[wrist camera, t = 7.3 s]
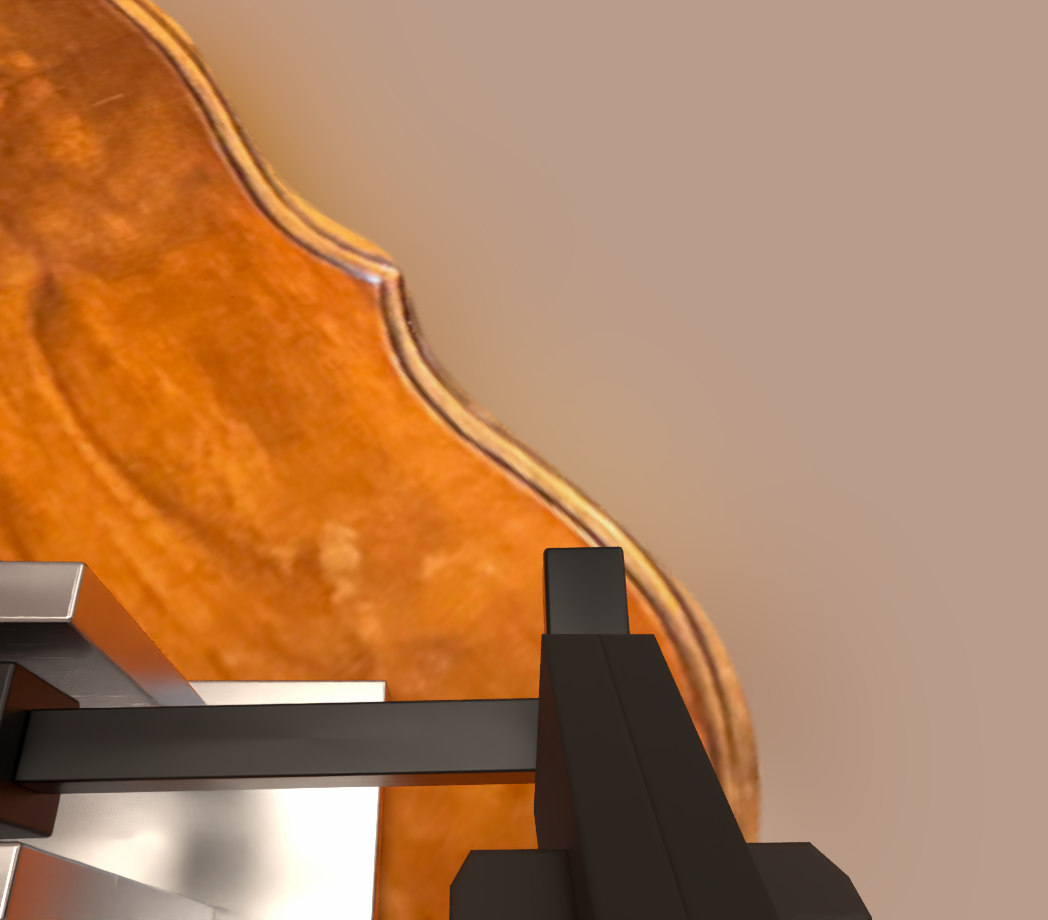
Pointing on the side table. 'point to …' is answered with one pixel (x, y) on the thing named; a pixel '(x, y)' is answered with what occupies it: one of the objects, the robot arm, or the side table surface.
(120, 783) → the lever
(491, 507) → the side table surface
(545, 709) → the robot arm
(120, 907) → the lever bracket
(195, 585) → the side table surface
